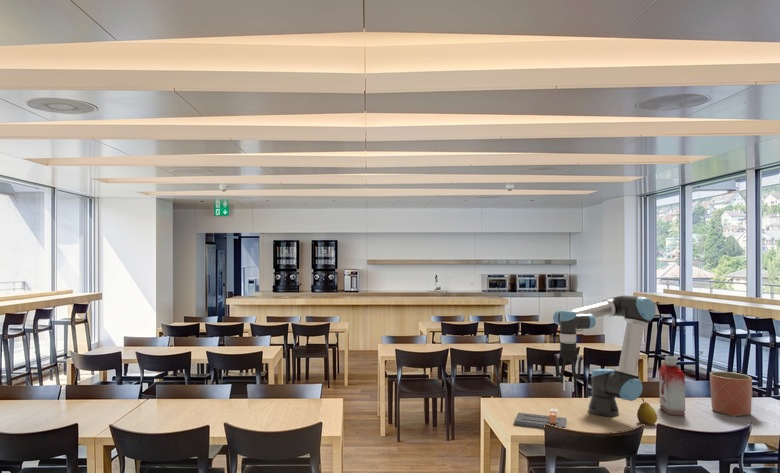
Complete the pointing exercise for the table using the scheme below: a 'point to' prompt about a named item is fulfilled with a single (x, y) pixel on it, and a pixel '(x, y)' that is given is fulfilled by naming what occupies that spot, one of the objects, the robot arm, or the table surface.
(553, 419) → the fader orange
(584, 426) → the table surface
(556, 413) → the fader grey
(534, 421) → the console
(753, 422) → the table surface
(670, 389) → the bottle
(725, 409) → the planter
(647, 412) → the fruit
